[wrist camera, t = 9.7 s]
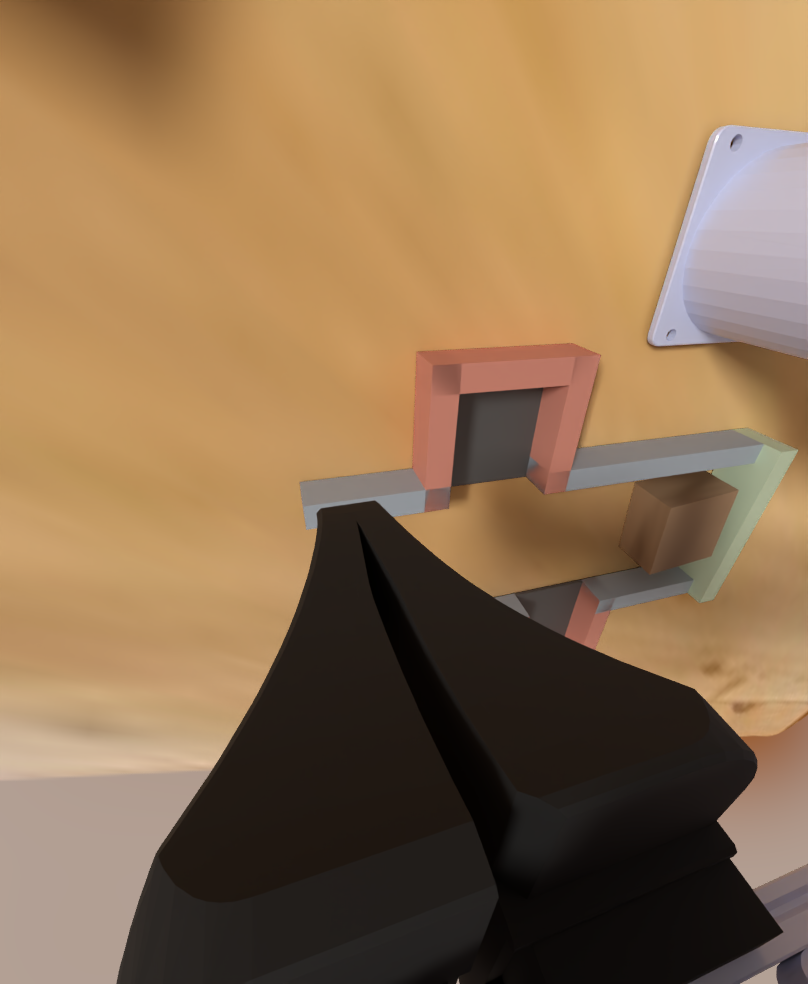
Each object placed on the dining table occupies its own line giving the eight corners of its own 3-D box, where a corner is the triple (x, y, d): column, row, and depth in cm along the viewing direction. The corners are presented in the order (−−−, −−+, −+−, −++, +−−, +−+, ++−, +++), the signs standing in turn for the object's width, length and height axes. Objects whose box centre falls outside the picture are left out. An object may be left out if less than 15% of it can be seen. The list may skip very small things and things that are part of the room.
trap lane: (794, 331, 23) (857, 345, 20) (654, 621, 35) (683, 651, 32) (284, 358, 17) (288, 383, 14) (327, 701, 29) (333, 747, 26)
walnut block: (695, 465, 27) (738, 490, 24) (673, 528, 29) (711, 556, 27) (632, 480, 26) (671, 508, 23) (616, 544, 29) (649, 574, 26)
